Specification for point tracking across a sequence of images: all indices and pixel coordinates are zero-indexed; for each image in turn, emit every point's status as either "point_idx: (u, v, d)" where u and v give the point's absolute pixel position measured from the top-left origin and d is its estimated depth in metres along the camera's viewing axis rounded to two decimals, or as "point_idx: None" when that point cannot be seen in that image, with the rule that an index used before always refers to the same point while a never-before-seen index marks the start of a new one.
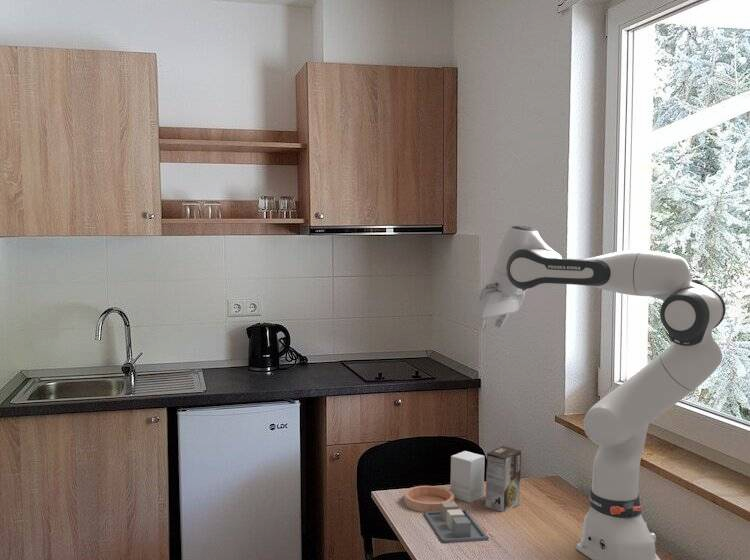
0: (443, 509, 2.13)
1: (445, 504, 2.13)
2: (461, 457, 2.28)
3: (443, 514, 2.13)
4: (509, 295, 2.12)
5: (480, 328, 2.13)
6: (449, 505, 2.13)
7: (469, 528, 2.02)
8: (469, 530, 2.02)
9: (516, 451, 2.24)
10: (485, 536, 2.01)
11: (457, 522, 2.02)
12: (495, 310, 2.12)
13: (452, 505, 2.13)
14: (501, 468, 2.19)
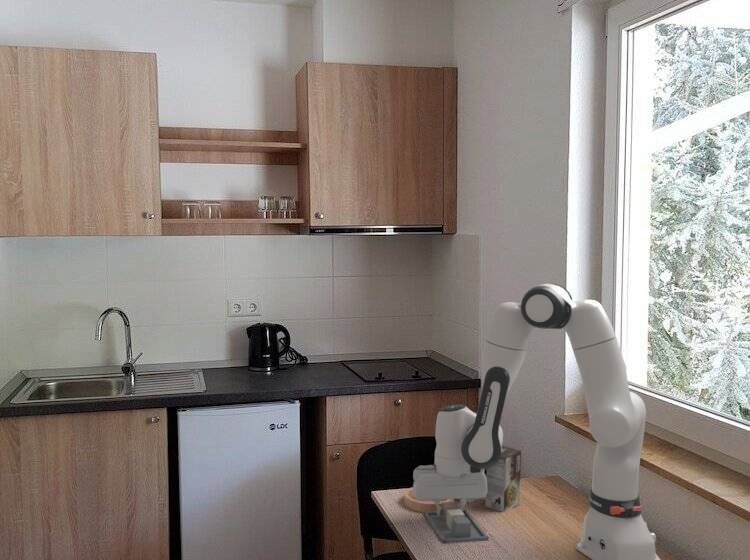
0: None
1: (445, 504, 2.13)
2: None
3: (443, 514, 2.13)
4: (450, 477, 2.10)
5: (437, 512, 2.13)
6: (449, 505, 2.13)
7: (469, 528, 2.02)
8: (469, 530, 2.02)
9: (516, 451, 2.24)
10: (485, 536, 2.01)
11: (457, 522, 2.02)
12: (439, 494, 2.11)
13: (452, 505, 2.13)
14: (501, 468, 2.19)
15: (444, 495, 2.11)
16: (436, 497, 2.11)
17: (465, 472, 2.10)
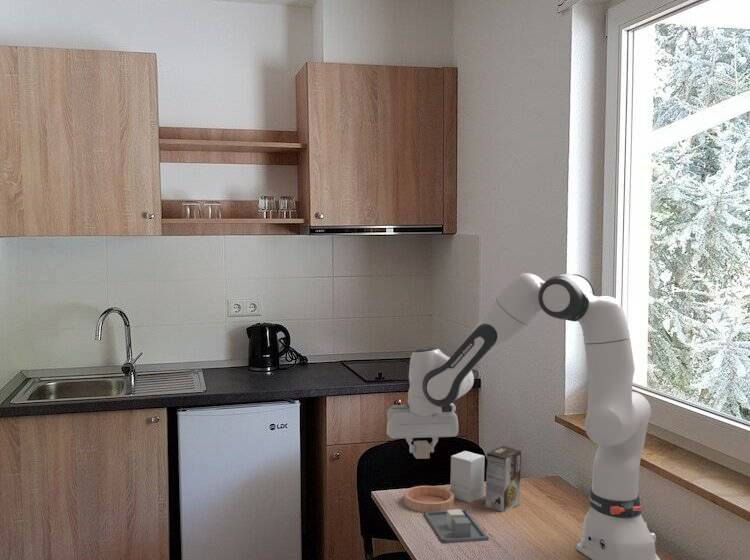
0: None
1: (418, 442, 2.22)
2: (461, 457, 2.28)
3: None
4: (422, 416, 2.19)
5: (410, 450, 2.22)
6: (422, 443, 2.22)
7: (469, 528, 2.02)
8: (469, 530, 2.02)
9: (516, 451, 2.24)
10: (485, 536, 2.01)
11: (457, 522, 2.02)
12: (411, 432, 2.20)
13: (424, 443, 2.22)
14: (501, 468, 2.19)
15: (416, 433, 2.20)
16: (409, 435, 2.20)
17: (437, 411, 2.18)
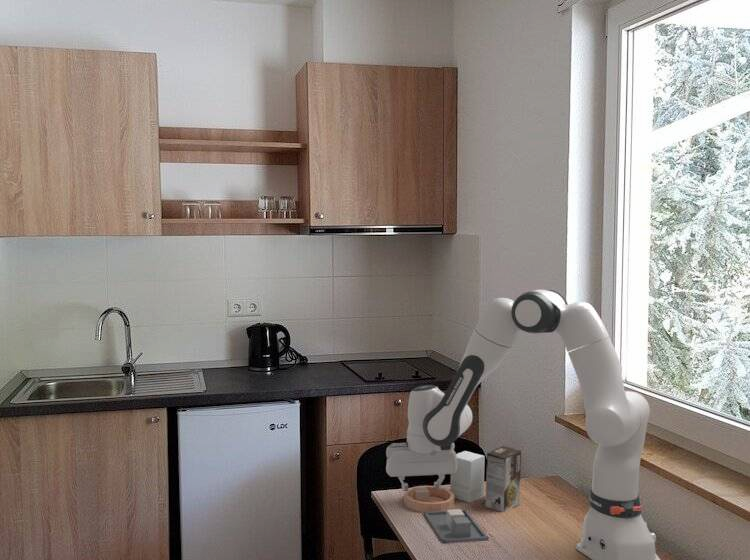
0: (415, 494, 2.23)
1: (417, 489, 2.24)
2: (461, 457, 2.28)
3: (415, 498, 2.23)
4: (421, 454, 2.20)
5: (402, 488, 2.22)
6: (421, 490, 2.23)
7: (469, 528, 2.02)
8: (469, 530, 2.02)
9: (516, 451, 2.24)
10: (485, 536, 2.01)
11: (457, 522, 2.02)
12: (411, 470, 2.21)
13: (423, 490, 2.23)
14: (501, 468, 2.19)
15: (416, 471, 2.21)
16: (408, 473, 2.21)
17: (435, 449, 2.20)
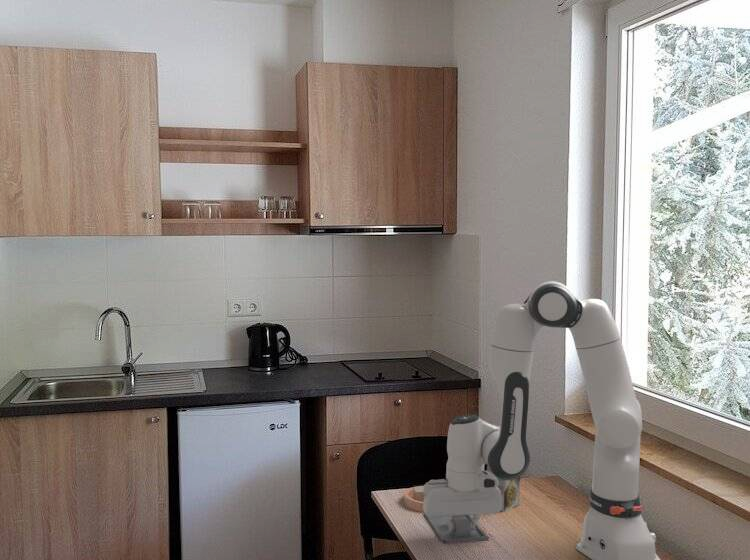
0: (415, 494, 2.23)
1: (417, 489, 2.24)
2: None
3: (415, 498, 2.23)
4: (463, 492, 1.99)
5: (449, 529, 2.02)
6: (421, 490, 2.23)
7: (469, 528, 2.02)
8: (469, 530, 2.02)
9: None
10: (485, 536, 2.01)
11: (457, 522, 2.02)
12: (451, 509, 2.00)
13: (423, 490, 2.23)
14: None
15: (456, 511, 2.00)
16: (448, 513, 2.00)
17: (478, 487, 1.99)
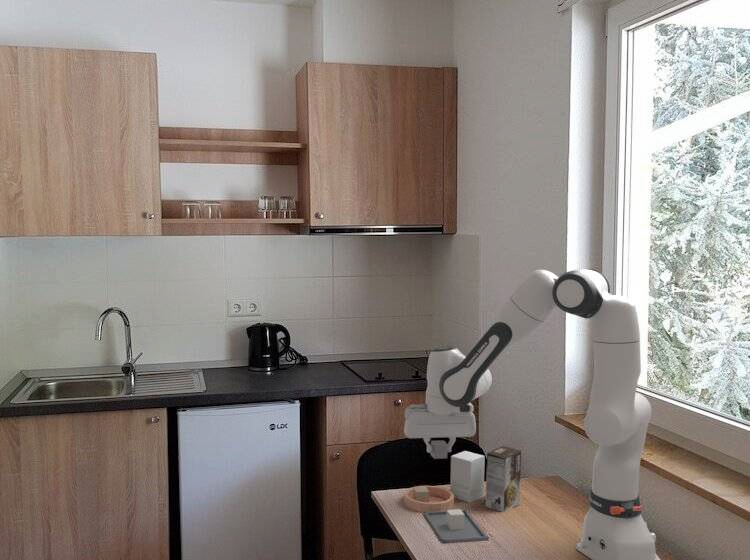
0: (415, 494, 2.23)
1: (417, 489, 2.24)
2: (461, 457, 2.28)
3: (415, 498, 2.23)
4: (440, 415, 2.18)
5: (428, 450, 2.21)
6: (421, 490, 2.23)
7: (446, 449, 2.20)
8: (446, 451, 2.21)
9: (516, 451, 2.24)
10: (485, 536, 2.01)
11: (435, 444, 2.20)
12: (429, 432, 2.19)
13: (424, 490, 2.23)
14: (501, 468, 2.19)
15: (434, 433, 2.19)
16: (426, 435, 2.19)
17: (455, 411, 2.18)
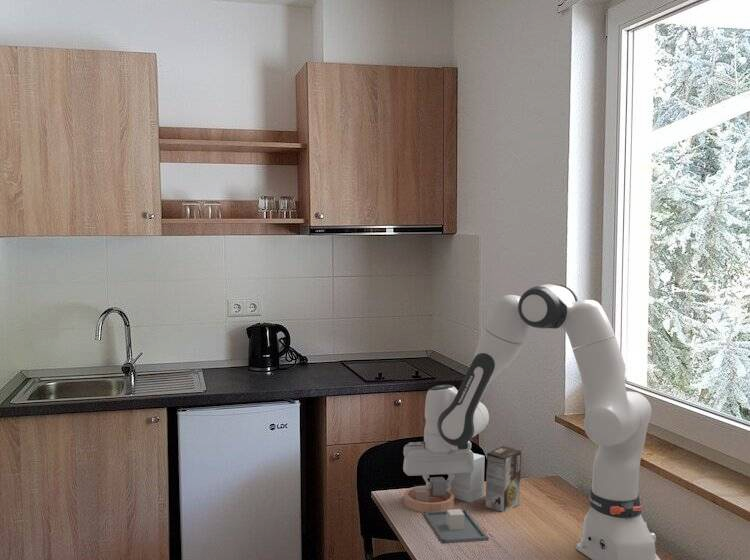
0: (415, 494, 2.23)
1: (417, 489, 2.24)
2: None
3: (415, 498, 2.23)
4: (438, 453, 2.21)
5: (427, 487, 2.24)
6: (421, 490, 2.23)
7: (444, 486, 2.23)
8: (444, 488, 2.23)
9: (516, 451, 2.24)
10: (485, 536, 2.01)
11: (434, 480, 2.23)
12: (428, 469, 2.22)
13: (423, 490, 2.23)
14: (501, 468, 2.19)
15: (433, 470, 2.22)
16: (425, 472, 2.22)
17: (453, 448, 2.21)
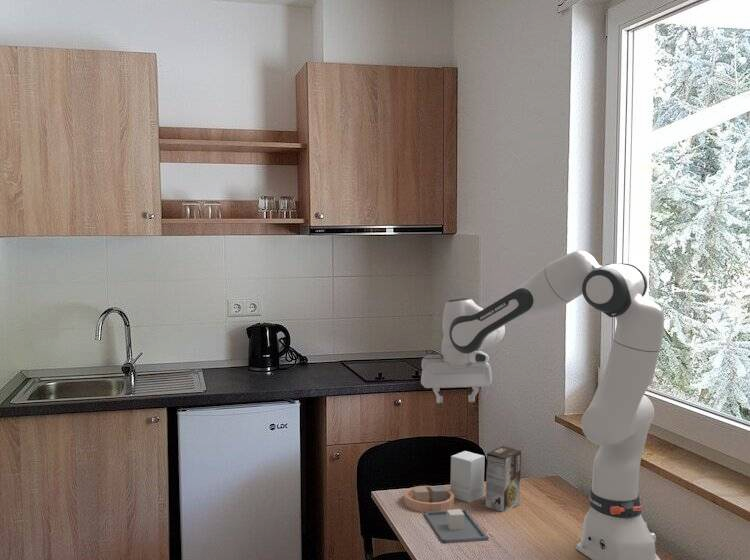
0: (414, 494, 2.23)
1: (416, 489, 2.24)
2: (461, 457, 2.28)
3: (414, 498, 2.23)
4: (456, 365, 2.21)
5: (437, 400, 2.24)
6: (420, 490, 2.23)
7: (444, 495, 2.24)
8: (444, 497, 2.24)
9: (516, 451, 2.24)
10: (485, 536, 2.01)
11: (433, 490, 2.24)
12: (446, 381, 2.22)
13: (423, 490, 2.23)
14: (501, 468, 2.19)
15: (451, 383, 2.23)
16: (443, 385, 2.22)
17: (471, 360, 2.21)
